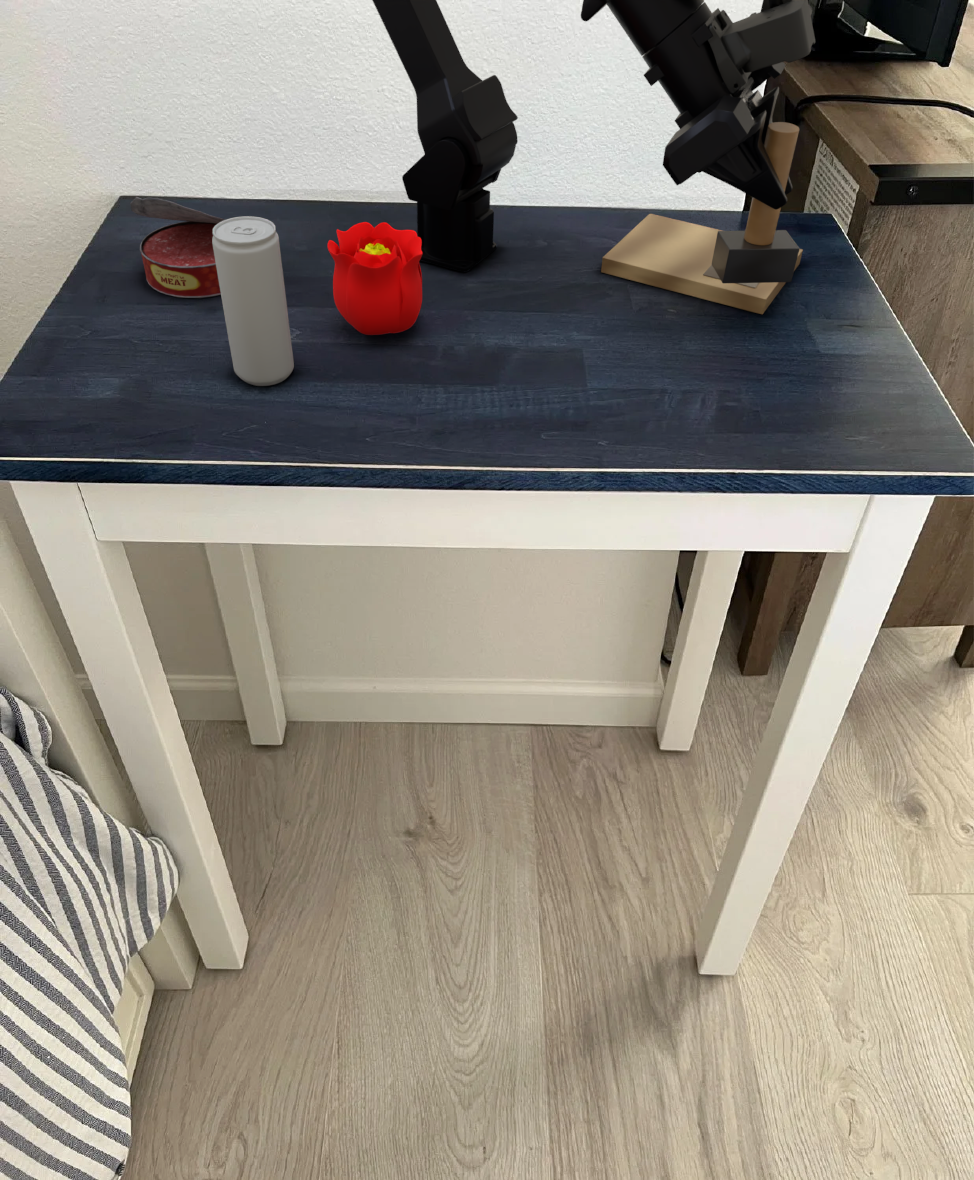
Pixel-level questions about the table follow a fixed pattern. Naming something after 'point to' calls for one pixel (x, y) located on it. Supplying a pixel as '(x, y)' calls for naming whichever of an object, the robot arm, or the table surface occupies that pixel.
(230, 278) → the beverage can
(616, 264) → the cutting board
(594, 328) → the table surface
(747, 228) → the hammer
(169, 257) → the canned food
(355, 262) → the flower
